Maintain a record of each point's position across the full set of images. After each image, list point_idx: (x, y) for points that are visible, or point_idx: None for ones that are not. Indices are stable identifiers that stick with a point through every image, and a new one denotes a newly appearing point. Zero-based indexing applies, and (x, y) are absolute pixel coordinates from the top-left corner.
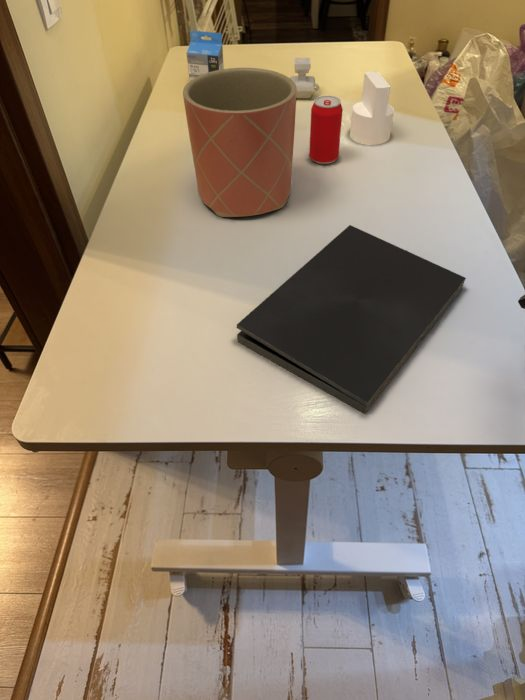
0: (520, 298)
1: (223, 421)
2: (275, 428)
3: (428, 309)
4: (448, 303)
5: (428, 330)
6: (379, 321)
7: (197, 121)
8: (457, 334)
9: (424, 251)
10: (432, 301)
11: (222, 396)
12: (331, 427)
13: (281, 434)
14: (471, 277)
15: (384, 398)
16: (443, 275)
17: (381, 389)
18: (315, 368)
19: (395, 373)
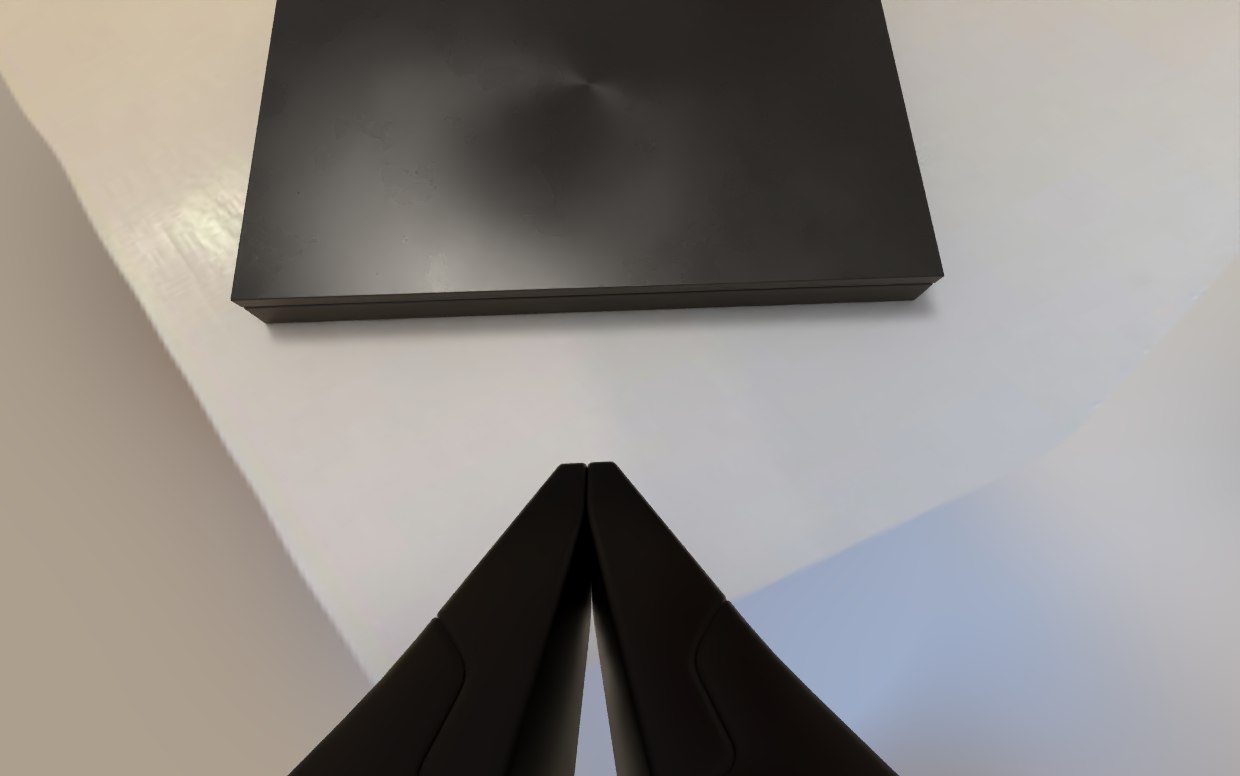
0: (585, 466)
1: (79, 97)
2: (112, 188)
3: (709, 253)
4: (806, 293)
5: (662, 304)
6: (552, 170)
7: None
8: (719, 379)
9: (976, 144)
10: (752, 245)
11: (148, 57)
12: (179, 283)
13: (101, 207)
14: (989, 299)
15: (347, 337)
16: (892, 216)
17: (348, 311)
18: (267, 134)
19: (444, 314)
